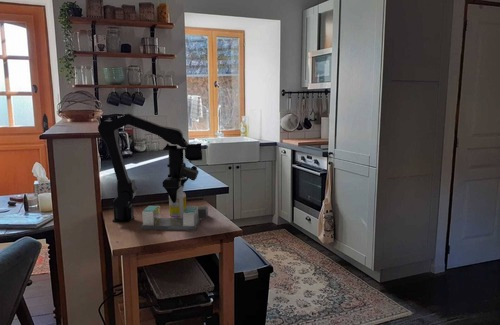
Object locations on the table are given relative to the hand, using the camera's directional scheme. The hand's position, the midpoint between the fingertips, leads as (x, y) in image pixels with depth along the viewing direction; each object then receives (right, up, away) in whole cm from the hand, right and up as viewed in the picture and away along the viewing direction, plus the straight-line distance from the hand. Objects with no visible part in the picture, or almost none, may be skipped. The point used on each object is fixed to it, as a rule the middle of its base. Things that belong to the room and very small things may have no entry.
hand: (177, 199), depth 153 cm
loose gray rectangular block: (+9, -7, +2) cm, 12 cm away
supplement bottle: (0, -8, +1) cm, 8 cm away
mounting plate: (-1, -9, -8) cm, 13 cm away
